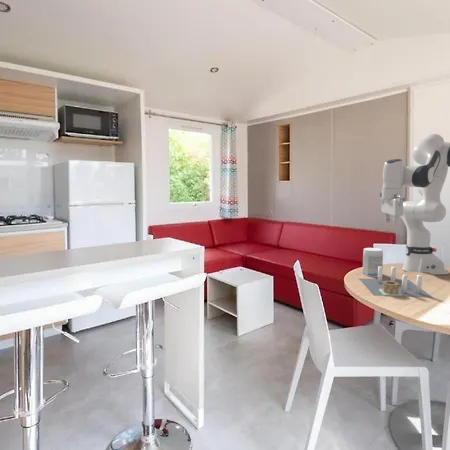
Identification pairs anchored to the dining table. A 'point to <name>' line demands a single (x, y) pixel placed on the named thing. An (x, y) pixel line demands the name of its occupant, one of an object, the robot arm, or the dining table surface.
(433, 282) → the dining table surface
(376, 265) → the supplement tub
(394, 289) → the ring
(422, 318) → the dining table surface
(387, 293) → the pad
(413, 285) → the board
